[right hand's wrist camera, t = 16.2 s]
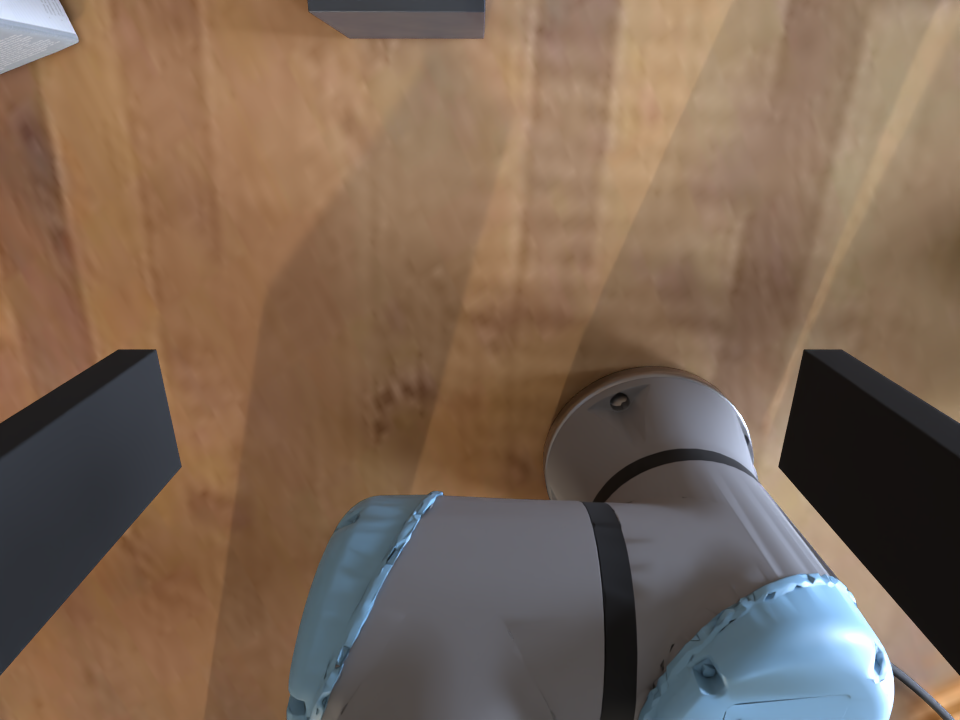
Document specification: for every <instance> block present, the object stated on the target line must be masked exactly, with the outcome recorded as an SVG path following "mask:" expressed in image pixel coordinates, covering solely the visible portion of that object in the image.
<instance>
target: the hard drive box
mask: <svg viewBox="0 0 960 720" xmlns="http://www.w3.org/2000/svg"><path fill="white" fill-rule="evenodd" d="M78 41H79V40H78V37H77V35H76V33H75V31H74V29H73V27H72V25H71V23H70V21H69V19H68V17H67V15H66V13H65V11H64V9H63V7H62V5H61V3H60V1H59V0H0V74H2V73H4V72H7V71H9V70H12V69H14V68H17V67H20V66H22V65H25V64H27V63H30V62H32V61H35V60H37V59H40V58H42V57H45V56H47V55H50V54H52V53H55V52H58V51H60V50H62V49H64V48H67V47H69V46H71V45H73V44H76V43H78Z"/></svg>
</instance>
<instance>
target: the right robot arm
mask: <svg viewBox="0 0 960 720" xmlns="http://www.w3.org/2000/svg"><path fill="white" fill-rule="evenodd" d="M753 463H754V459H753V450H752V444H751V438H750V435H749V431H748V429H747V426H746V424H745V422H744V420H743V419H742V417H741V415H740V414H739V413H738V411H737V410H736V408H735V407H734V406H733V405H732V404H731V403H730V402H729V401H728V400H727V398H726V397H725V396H724V395H723V394H722V393H721V392H720V391H719V390H718V389H717V388H715V387H714V386H713V385H712V384H710V383H709V382H707V381H706V380H704V379H702V378H700V377H698V376H696V375H694V374H691V373H689V372H686V371H682V370H679V369H674V368H668V367H638V368H632V369H627V370H623V371H619V372H616V373H613V374H611V375H608V376H606V377H603V378H601V379H599V380H597V381H595V382H594V383H592V384H590V385H589V386H587V387H586V388H584V389H583V390H582V391H580V392H579V393H578V394H577V395H575V396H574V397H573V398H572V399H571V400H570V401H569V402H568V403H567V404H566V405H565V407H564V408H563V409H562V410H561V412H560V413H559V414H558V416H557V418H556V419H555V421H554V423H553V425H552V426H551V428H550V431H549V433H548V436H547V439H546V443H545V447H544V453H543V469H544V476H545V481H546V487H547V492H548V495H549V498H550V500H529V499H503V498H482V497H461V496H444V495H443V492H439V491H433V492H431V493H429V494H428V495H381V496H373V497H369V498H367V499H364V500H362V501H360V502H359V503H357V504H356V505H355V506H354V507H352V508H351V509H350V510H349V511H348V512H347V513H346V514H345V516H344V517H343V518H342V520H341V521H340V523H339V524H338V526H337V527H336V529H335V531H334V533H333V535H332V536H331V538H330V540H329V542H328V545H327V547H326V549H325V551H324V553H323V556H322V558H321V561H320V563H319V565H318V568H317V571H316V574H315V577H314V579H313V582H312V585H311V588H310V592H309V595H308V598H307V601H306V605H305V608H304V612H303V615H302V619H301V623H300V627H299V631H298V635H297V640H296V644H295V649H294V653H293V658H292V664H291V669H290V676H289V692H290V698H289V703H288V707H287V720H889V717H890V714H891V710H892V706H893V699H894V678H893V675H894V676H895V677H897V678H898V679H899V680H900V681H902V682H903V683H904V684H905V685H907V686H908V687H909V688H910V689H911V690H913V691H914V692H915V693H916V694H917V695H918V696H919V697H921V698H922V699H923V700H924V701H925V702H926V703H927V704H928V705H929V706H930V707H931V708H933V709H934V710H935V711H936V712H937V713H938V714H939V715H940V716H941V717H942V719H943V720H955V719H954V718H953V717H952V716H951V715H950V714H949V713H948V712H947V711H946V710H945V709H944V708H943V707H942V706H941V705H940V704H939V703H938V702H937V701H936V700H935V699H934V698H933V697H932V696H930V695H929V694H928V693H927V692H926V691H925V690H924V689H923V688H922V687H920V686H919V685H918V684H917V683H916V682H915V681H914V680H912V679H911V678H910V677H909V676H908V675H906V674H905V673H904V672H903V671H901V670H900V669H899V668H897V667H896V666H895V665H894V664H892V663H891V662H890V661H889V659H888V656H887V654H886V652H885V649H884V647H883V646H882V644H881V643H880V641H879V639H878V638H877V636H876V635H875V633H874V632H873V630H872V629H871V627H870V626H869V625H868V623H867V622H866V620H865V619H864V617H863V616H862V614H861V613H860V611H859V610H858V608H857V604H856V601H855V599H854V597H853V595H852V593H851V592H849V591H848V589H847V587H846V586H845V585H843V584H842V583H841V582H840V580H839V579H838V578H837V577H836V576H835V574H834V573H833V572H832V571H831V569H830V568H829V567H828V566H827V565H826V563H825V562H824V561H823V560H822V558H821V557H820V556H819V555H818V554H817V552H816V551H815V550H814V549H813V547H812V546H811V545H810V544H809V543H808V541H807V540H806V539H805V538H804V536H803V535H802V534H801V533H800V532H799V530H798V529H797V528H796V527H795V525H794V524H793V523H792V522H791V521H790V519H789V518H788V517H787V516H786V514H785V513H784V512H783V511H782V510H781V508H780V507H779V506H778V505H777V503H776V502H775V501H774V500H773V499H772V497H771V496H770V495H769V494H768V492H767V491H766V490H765V489H764V488H763V486H762V485H761V484H760V483H759V481H758V477H757V472H756V470H755V468H754V466H753ZM180 468H181V462H180V457H179V453H178V448H177V443H176V439H175V434H174V430H173V425H172V420H171V416H170V411H169V407H168V402H167V397H166V393H165V388H164V383H163V379H162V374H161V370H160V365H159V360H158V356H157V351H156V350H117V351H115V352H114V353H112V354H110V355H109V356H107V357H106V358H104V359H103V360H101V361H99V362H98V363H96V364H95V365H93V366H91V367H90V368H88V369H87V370H85V371H83V372H82V373H80V374H79V375H77V376H75V377H74V378H72V379H71V380H69V381H67V382H66V383H64V384H63V385H61V386H59V387H58V388H56V389H55V390H53V391H51V392H50V393H48V394H47V395H45V396H43V397H42V398H40V399H39V400H37V401H35V402H34V403H32V404H31V405H29V406H27V407H26V408H24V409H23V410H21V411H19V412H18V413H16V414H15V415H13V416H11V417H10V418H8V419H7V420H5V421H3V422H2V423H0V675H1V674H2V673H3V672H4V671H5V669H6V668H7V667H8V666H9V665H10V664H11V663H12V661H13V660H14V659H15V658H16V657H17V656H18V655H19V653H20V652H21V651H22V650H23V649H24V648H25V646H26V645H27V644H28V643H29V642H30V641H31V640H32V638H33V637H34V636H35V635H36V634H37V633H38V631H39V630H40V629H41V628H42V627H43V626H44V625H45V623H46V622H47V621H48V620H49V619H50V618H51V617H52V615H53V614H54V613H55V612H56V611H57V610H58V608H59V607H60V606H61V605H62V604H63V603H64V602H65V600H66V599H67V598H68V597H69V596H70V595H71V594H72V592H73V591H74V590H75V589H76V588H77V587H78V585H79V584H80V583H81V582H82V581H83V580H84V579H85V577H86V576H87V575H88V574H89V573H90V572H91V570H92V569H93V568H94V567H95V566H96V565H97V564H98V562H99V561H100V560H101V559H102V558H103V557H104V556H105V554H106V553H107V552H108V551H109V550H110V549H111V547H112V546H113V545H114V544H115V543H116V542H117V541H118V539H119V538H120V537H121V536H122V535H123V534H124V533H125V531H126V530H127V529H128V528H129V527H130V526H131V524H132V523H133V522H134V521H135V520H136V519H137V518H138V516H139V515H140V514H141V513H142V512H143V511H144V509H145V508H146V507H147V506H148V505H149V504H150V503H151V501H152V500H153V499H154V498H155V497H156V496H157V495H158V493H159V492H160V491H161V490H162V489H163V488H164V486H165V485H166V484H167V483H168V482H169V481H170V480H171V478H172V477H173V476H174V475H175V474H176V473H177V471H178V470H179V469H180ZM779 468H780V469H781V470H782V472H783V473H784V474H785V475H786V476H787V477H788V478H789V480H790V481H791V482H792V483H793V484H794V485H795V486H796V488H797V489H798V490H799V491H800V492H801V493H802V495H803V496H804V497H805V498H806V499H807V500H808V501H809V503H810V504H811V505H812V506H813V507H814V508H815V509H816V511H817V512H818V513H819V514H820V515H821V516H822V518H823V519H824V520H825V521H826V522H827V523H828V524H829V526H830V527H831V528H832V529H833V530H834V531H835V533H836V534H837V535H838V536H839V537H840V538H841V539H842V541H843V542H844V543H845V544H846V545H847V546H848V547H849V549H850V550H851V551H852V552H853V553H854V554H855V556H856V557H857V558H858V559H859V560H860V561H861V562H862V564H863V565H864V566H865V567H866V568H867V569H868V570H869V572H870V573H871V574H872V575H873V576H874V577H875V579H876V580H877V581H878V582H879V583H880V584H881V585H882V587H883V588H884V589H885V590H886V591H887V592H888V594H889V595H890V596H891V597H892V598H893V599H894V600H895V602H896V603H897V604H898V605H899V606H900V607H901V608H902V610H903V611H904V612H905V613H906V614H907V615H908V617H909V618H910V619H911V620H912V621H913V622H914V623H915V625H916V626H917V627H918V628H919V629H920V630H921V631H922V633H923V634H924V635H925V636H926V637H927V638H928V640H929V641H930V642H931V643H932V644H933V645H934V646H935V648H936V649H937V650H938V651H939V652H940V653H941V655H942V656H943V657H944V658H945V659H946V660H947V661H948V663H949V664H950V665H951V666H952V667H953V668H954V669H955V671H956V672H957V673H958V674H959V675H960V423H958V422H957V421H955V420H953V419H952V418H950V417H949V416H947V415H945V414H944V413H942V412H941V411H939V410H937V409H936V408H934V407H933V406H931V405H929V404H928V403H926V402H925V401H923V400H921V399H920V398H918V397H917V396H915V395H913V394H912V393H910V392H909V391H907V390H905V389H904V388H902V387H901V386H899V385H897V384H896V383H894V382H893V381H891V380H889V379H888V378H886V377H885V376H883V375H881V374H880V373H878V372H877V371H875V370H873V369H872V368H870V367H869V366H867V365H865V364H864V363H862V362H861V361H859V360H857V359H856V358H854V357H853V356H851V355H850V354H848V353H846V352H845V351H843V350H804V351H803V356H802V360H801V365H800V370H799V374H798V379H797V383H796V388H795V393H794V397H793V402H792V407H791V411H790V416H789V420H788V425H787V430H786V434H785V439H784V443H783V448H782V453H781V457H780V462H779Z"/></svg>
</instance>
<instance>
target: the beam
mask: <svg viewBox="0 0 960 720" xmlns="http://www.w3.org/2000/svg"><path fill="white" fill-rule="evenodd" d="M308 11H309V12H310V13H311V14H313V15H314V16H316V17H317V18H319V19H321V20H322V21H324V22H325V23H327V24H328V25H330V26H331V27H333V28H334V29H336V30H337V31H339V32H340V33H342V34H344V35H345V36H347V37H348V38H484V24H485V0H308Z"/></svg>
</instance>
